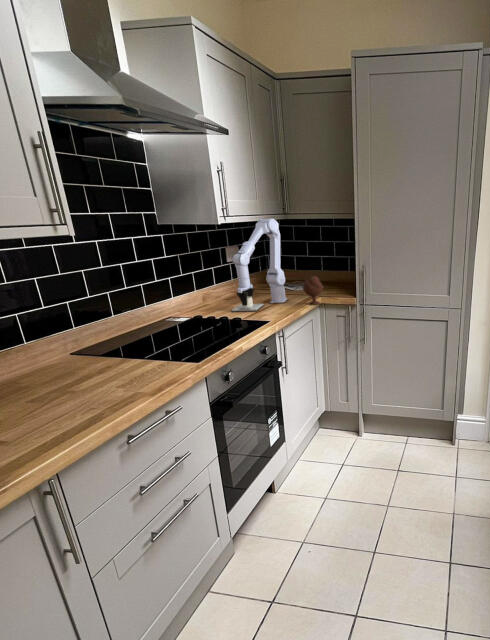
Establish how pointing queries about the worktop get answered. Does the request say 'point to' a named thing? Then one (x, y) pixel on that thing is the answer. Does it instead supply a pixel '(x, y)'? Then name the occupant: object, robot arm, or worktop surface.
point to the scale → (250, 309)
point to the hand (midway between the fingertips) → (247, 304)
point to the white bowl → (249, 302)
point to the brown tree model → (313, 288)
